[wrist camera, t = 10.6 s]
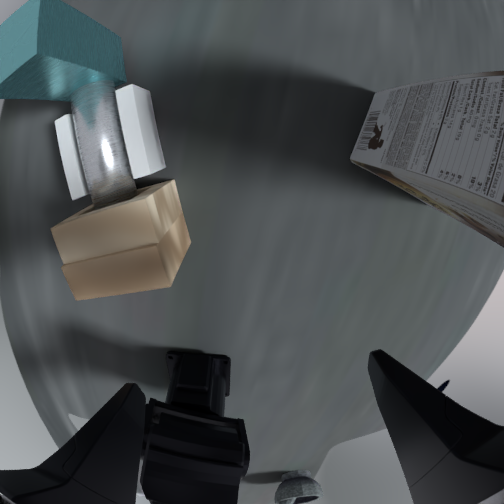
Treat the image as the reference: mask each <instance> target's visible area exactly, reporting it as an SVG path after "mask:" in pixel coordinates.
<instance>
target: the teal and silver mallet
mask: <svg viewBox="0 0 504 504" xmlns="http://www.w3.org/2000/svg"><path fill="white" fill-rule="evenodd" d="M126 82H127V80H126V74H125V67H124V60H123V52H122V43H121V37H119V36H118V35H116V34H115V33H113V32H112V31H110V30H109V29H107V28H106V27H104V26H103V25H101V24H99V23H98V22H96V21H95V20H93V19H92V18H90V17H88V16H87V15H85V14H83V13H82V12H80V11H78V10H77V9H75V8H73V7H71V6H70V5H68V4H66V3H64V2H62V1H61V0H29V1H28V2H26V3H25V4H24V5H23V6H21V7H20V8H19V9H18V10H17V11H16V12H14V13H13V14H12V15H11V16H10V17H9V18H8V19H7V20H5V21H4V22H3V23H2V24H1V25H0V99H40V100H57V101H69V102H71V108H72V114H73V121H74V126H75V132H76V137H77V142H78V147H79V152H80V156H81V161H82V165H83V169H84V173H85V177H86V181H87V185H88V188H89V192H90V195H91V199H92V202H93V206H94V209H95V210H98V209H102V208H105V207H108V206H111V205H114V204H118V203H121V202H124V201H128V200H131V199H133V198H134V197H136V196H138V192H137V188H136V185H135V181H134V178H133V174H132V170H131V166H130V162H129V158H128V153H127V149H126V145H125V140H124V135H123V131H122V126H121V121H120V115H119V110H118V104H117V98H116V92H115V91H116V90H115V87H116V86H119V85H121V84H123V83H126Z"/></svg>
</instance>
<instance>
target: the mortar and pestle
mask: <svg viewBox="0 0 504 504" xmlns="http://www.w3.org/2000/svg"><path fill="white" fill-rule="evenodd" d="M310 475H311V474H310V471H307V470H297V471H292V472H288V473H285V474H283V475H282V477H281V478H282V483H281V484H280V485H279V487H278V489H277V491H276V493H275V504H303V503H308V502H312V501H315V500H318V499H320V498H321V497H322V496H323V492H322V489H321V486H320V485H319V484H318V483H317V482H316V481H315V480H313V479H311V478H310Z"/></svg>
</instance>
